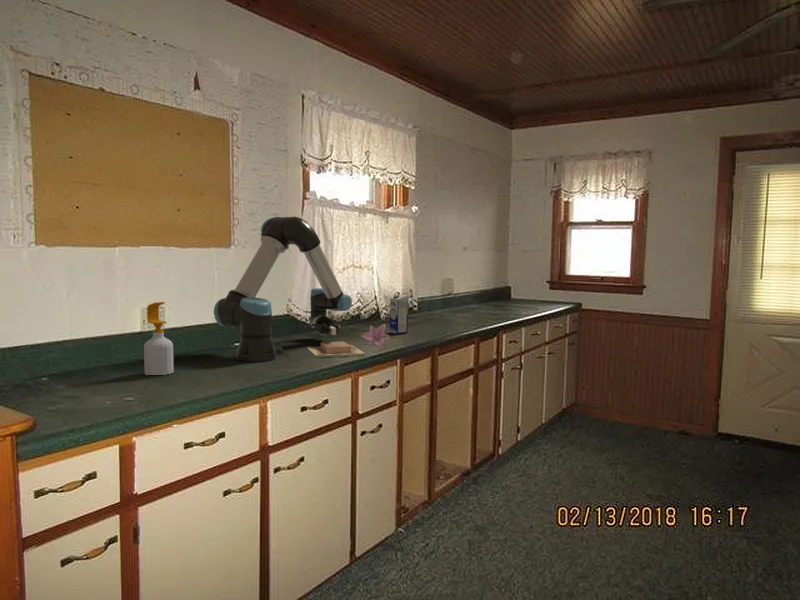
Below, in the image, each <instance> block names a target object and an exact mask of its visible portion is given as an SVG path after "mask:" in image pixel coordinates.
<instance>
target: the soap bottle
mask: <svg viewBox="0 0 800 600" xmlns="http://www.w3.org/2000/svg"><path fill="white" fill-rule="evenodd" d="M164 304H166V302H165V301H160V302H159V301H158V302H153V303H150V304H148V305H147V307H146V310H147V311H146V312H147V314H146V317H147V319H146V320H147V323H149V324H153V327H155V329H154V330H152V337H151V338H150V339H148V340H147V341H145V343H144V345H143V356H144V357H143V358H144V359H143V361H144V362H143V363H144V364H143V365H144V375H145V376H148V375H165V376H168V375H167V374H169V375H172V374H173V373H174V369H175V367H174V344H173V342H172V340H170V339H169V338H166V337H165V336H164V334H165V331H164V329H162V326H163V324H167V321H164V320H160V317H159V314H160V313H159V312H160V309H159V308H160V306H161V305H164ZM171 373H172V374H171Z"/></svg>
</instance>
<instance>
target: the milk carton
mask: <svg viewBox="0 0 800 600" xmlns="http://www.w3.org/2000/svg"><path fill="white" fill-rule="evenodd" d="M408 315H409V295H407V294H395V295H393V296H392V297H389V333H390V332H391V333H390V334H392V333H395V334H394V335H396V334H399V335H404V334H403V333H408V332H409V331H408V327H409V326H408V325H409V324H408V321H409V319H408V318H409V316H408Z"/></svg>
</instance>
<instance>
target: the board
mask: <svg viewBox="0 0 800 600" xmlns="http://www.w3.org/2000/svg"><path fill="white" fill-rule="evenodd" d="M349 345H350V346H351V352H350V353H332V354H327V353H326V352H324V351H323V350H322V349H321V345H319V346H306V349H308V350H309V351H310V353H312V354H313V355H314V356H317V357H318V356H319V357H320V356H327V357H321V359H333V358H332V357H333V356H336V355H337V356H338V355H340V358H351V357H350V356H351V355H356V354H361V355H359V357H365V355H362V354H365V352H363V351H362V350H361V349H359V348H358V347H356V346H355V345H352V344H349ZM342 355H344V356H342ZM345 355H346V356H345Z"/></svg>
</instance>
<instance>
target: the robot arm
mask: <svg viewBox="0 0 800 600" xmlns="http://www.w3.org/2000/svg"><path fill="white" fill-rule="evenodd" d="M260 232H261V233H260V236H261V237H260V242H261V244H260V245H259V247H258V249H257V251H256V253H255V255H254V256H253V258H252V260H251V261H250V263H249V264H248V267H247V268H246V270H245V271H244V273H243V275H242V276H241V278H240V280H239V282H238V284H237V286H236V287H235V289H231V290H229V292H228V294H227V295H226V297H224V298H220V299H219V300H218V301H217V302H216V303H215V305H214V308H213V315H214V319H215V321H216V323H218V324H219V326H222V327H223V328H227V329H236V330H240V341H239V344H238V347H237V351H236V360H237V361H240V360H241V362H247V361H249V362H252V363H254V362H257V363H258V361H259V362H269V361H272V360H276V358H277V350H276V347H275V344H274V342H273V338H272V334H273V333H272V332H273V331H272V329H273V326H272V325H273V324H272V323H273V320H272V317H273V316H272V315H273V311H272V310H273V309H272V302H271V301H269V299H265V298H261V297H256V296H258V293H259V291H260V290H261V288H262V287H263V285H264V282H265V281H266V280H267V277H268V276H269V273H270V272H271V270H272V268H273V267H274V265H275V263H276V261H277V260H278V257H279V256H280V254H283V253H285V252H286V250H287V249H288V247H289V245H294V246H296V247H297V248H298V250H299V252H300V253H303V254H304V256H305V259H306V261H307V262H308V264H309V266H310V268H311V269H312V271H313V273H314V275H315V277H316V280H317V281H318V283H319V285H320V287H315V288H312V289H311V290H310V316H309V319H308V322H309V324H310V327H311V330H313V331H317V332H319V333H321V334H326V335H331V336H337V333H339V331H340V330H341V323H340V322H337V323H334V322H332V319H330V318H329V317H327V314H328V313H327V311H328V310H330V311H337V312H347V311H349V310H350V309H351V307H352V304H353V301H352V297H351V296H350V295H349V294H347V293H345V294H344V292H343V290H342V288H341V286H340V283H339V281H338V280H337V278H336V276H335V274H334V272H333V270H332V268H331V266H330V263H329V262H328V260H327V257H326V255H325V254H324V251H323V249H322V247H321V240H320V238H319V235H318V234H317V232H316V230H314V228H313V226H311V224H309V223H308V222H307V221H306V220H305V219H303V218H302V217H298V216H283V217H282V216H273V217H270V218H268V219H266V220H265V221H264V222H263V223H262V225H261V228H260Z"/></svg>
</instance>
